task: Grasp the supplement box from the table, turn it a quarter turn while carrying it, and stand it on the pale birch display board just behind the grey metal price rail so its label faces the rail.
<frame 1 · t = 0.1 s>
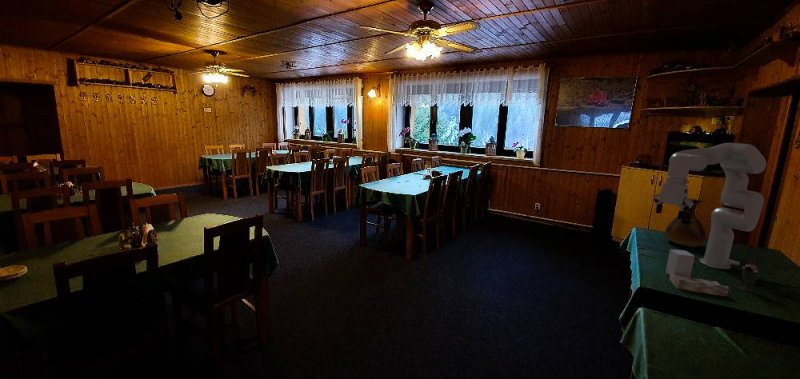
hand: (669, 215, 164), 31 cm above the table, tool pointing down, fingers open, 9 cm apart
sundae: (745, 290, 158), on the table
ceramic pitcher: (682, 244, 215), on the table
display board: (696, 287, 159), on the table
supplement box: (677, 276, 170), on the table
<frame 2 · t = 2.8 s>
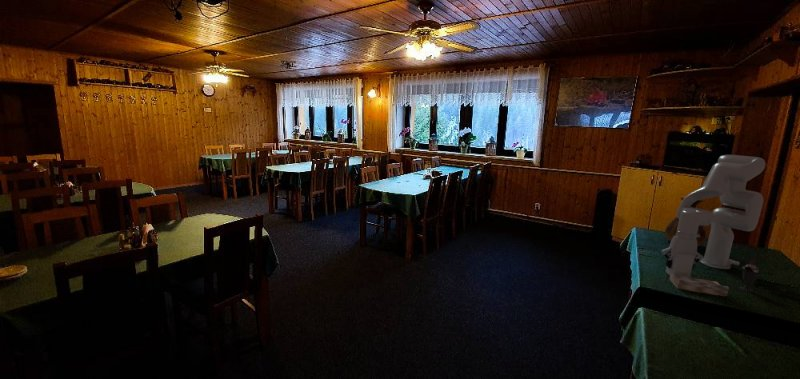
hand: (678, 268, 169), 4 cm above the table, tool pointing down, fingers closed on supplement box, 8 cm apart
supplement box: (677, 276, 170), on the table, touching gripper
everything else where it was.
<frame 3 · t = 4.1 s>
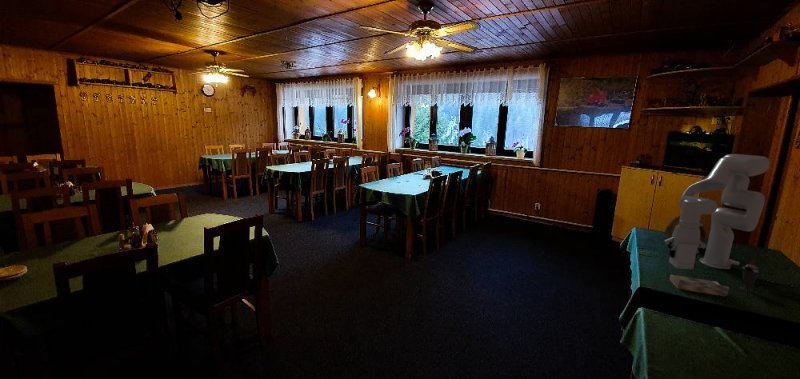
hand: (682, 258, 169), 9 cm above the table, tool pointing down, fingers closed on supplement box, 8 cm apart
supplement box: (680, 266, 170), point 5 cm above the table, touching gripper
everything else where it was.
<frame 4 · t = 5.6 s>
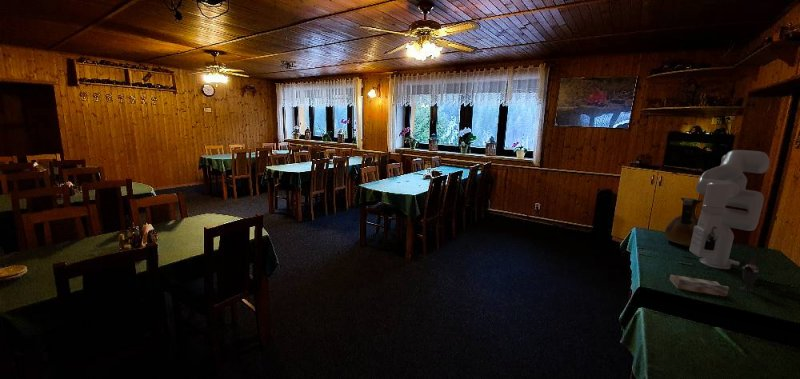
hand: (704, 246, 156), 20 cm above the table, tool pointing down, fingers closed on supplement box, 8 cm apart
supplement box: (702, 255, 157), point 16 cm above the table, touching gripper
everything else where it was.
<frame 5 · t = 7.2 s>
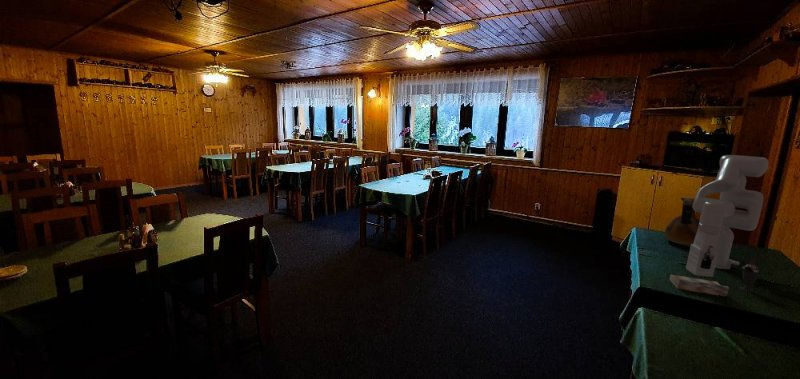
hand: (700, 264, 157), 11 cm above the table, tool pointing down, fingers closed on supplement box, 8 cm apart
supplement box: (698, 273, 158), point 7 cm above the table, touching gripper
everything else where it was.
when the fingers open (7 cm above the table, at t = 8.6 s): supplement box stays where it is, resting on display board.
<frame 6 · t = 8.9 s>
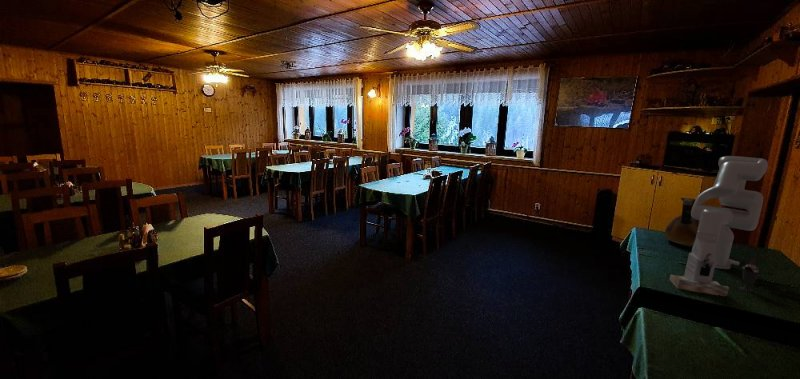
hand: (699, 271, 158), 8 cm above the table, tool pointing down, fingers open, 9 cm apart
supplement box: (696, 281, 160), point 2 cm above the table, touching display board
everything else where it was.
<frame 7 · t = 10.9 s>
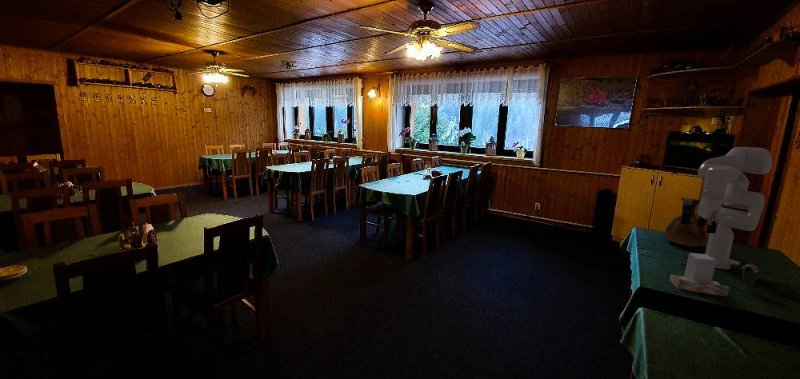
hand: (705, 229, 161), 26 cm above the table, tool pointing down, fingers open, 9 cm apart
nothing on the table moved.
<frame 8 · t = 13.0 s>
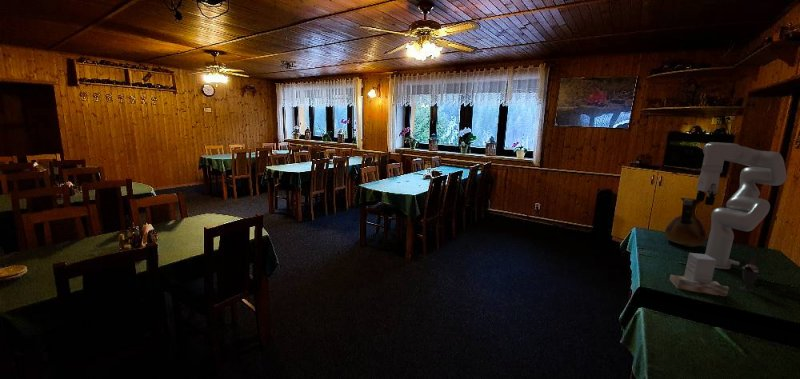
hand: (704, 202, 170), 36 cm above the table, tool pointing down, fingers open, 9 cm apart
nothing on the table moved.
at the end: supplement box inside the target area on the display board (0.9 cm from its centre), point 2.3 cm above the display board's base; supplement box tilted 0°; the gripper is holding nothing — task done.
